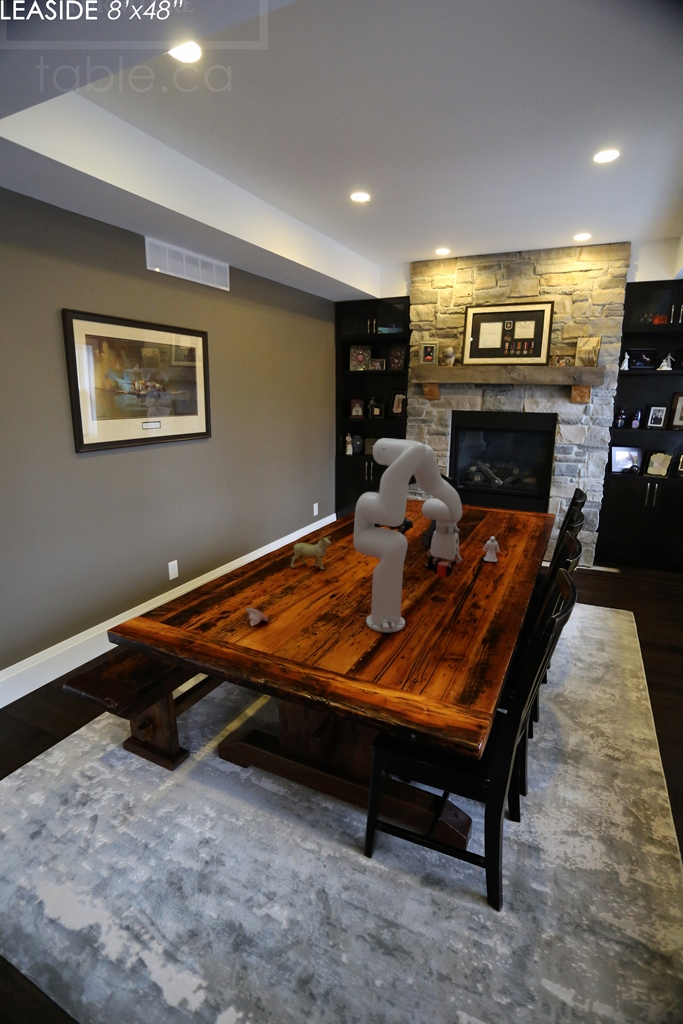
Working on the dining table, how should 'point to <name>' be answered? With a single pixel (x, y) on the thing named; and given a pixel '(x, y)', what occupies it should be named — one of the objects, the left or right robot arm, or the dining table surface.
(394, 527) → the right robot arm
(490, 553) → the figurine
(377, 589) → the left robot arm
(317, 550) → the toy
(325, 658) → the dining table surface
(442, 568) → the can
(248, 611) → the seashell
